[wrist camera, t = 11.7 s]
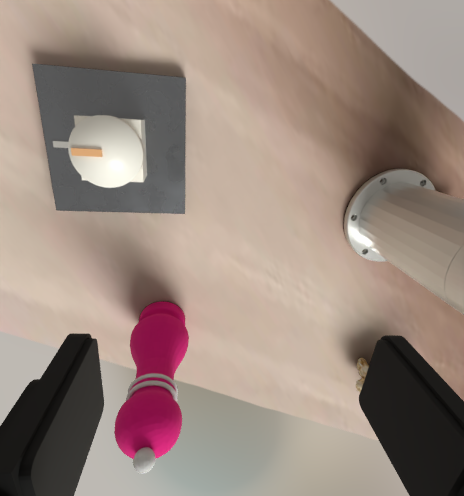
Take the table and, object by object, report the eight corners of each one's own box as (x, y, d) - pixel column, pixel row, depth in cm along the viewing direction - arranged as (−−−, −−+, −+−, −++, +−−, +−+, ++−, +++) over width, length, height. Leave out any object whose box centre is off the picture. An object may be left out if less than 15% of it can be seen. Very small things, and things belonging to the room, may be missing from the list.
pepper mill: (191, 336, 44) (193, 489, 26) (141, 343, 43) (107, 505, 25) (184, 294, 41) (182, 433, 23) (131, 301, 40) (84, 450, 22)
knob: (146, 117, 31) (139, 117, 25) (149, 177, 33) (143, 189, 27) (83, 113, 30) (61, 112, 24) (90, 175, 32) (72, 187, 26)
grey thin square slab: (185, 79, 31) (185, 72, 27) (184, 210, 37) (184, 223, 32) (39, 66, 29) (11, 56, 25) (61, 206, 34) (42, 220, 30)
